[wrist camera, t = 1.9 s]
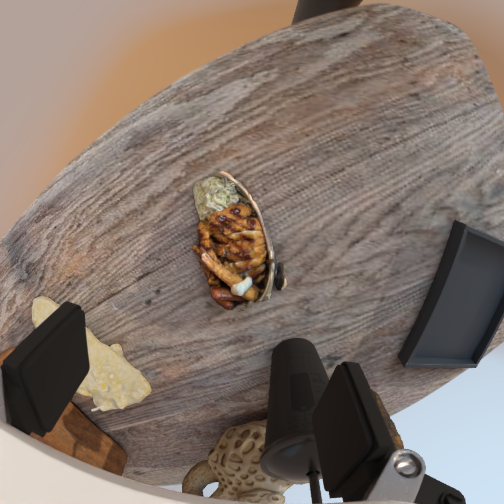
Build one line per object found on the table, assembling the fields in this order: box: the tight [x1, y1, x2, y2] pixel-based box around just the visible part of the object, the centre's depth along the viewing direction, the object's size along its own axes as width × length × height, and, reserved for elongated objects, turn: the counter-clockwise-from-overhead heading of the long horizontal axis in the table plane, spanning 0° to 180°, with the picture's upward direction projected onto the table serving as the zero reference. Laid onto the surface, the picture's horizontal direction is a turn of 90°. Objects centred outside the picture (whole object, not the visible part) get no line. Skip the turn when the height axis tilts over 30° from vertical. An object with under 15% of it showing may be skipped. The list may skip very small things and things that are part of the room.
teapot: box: [182, 419, 309, 504], centre depth 27 cm, size 21×12×15 cm, turn 121°
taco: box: [193, 171, 287, 312], centre depth 25 cm, size 7×12×4 cm, turn 22°
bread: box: [0, 348, 127, 476], centre depth 30 cm, size 14×28×12 cm, turn 32°
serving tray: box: [398, 220, 504, 368], centre depth 27 cm, size 17×14×2 cm
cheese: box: [32, 296, 151, 411], centre depth 27 cm, size 15×7×15 cm
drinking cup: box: [259, 338, 329, 504], centre depth 21 cm, size 8×8×20 cm
